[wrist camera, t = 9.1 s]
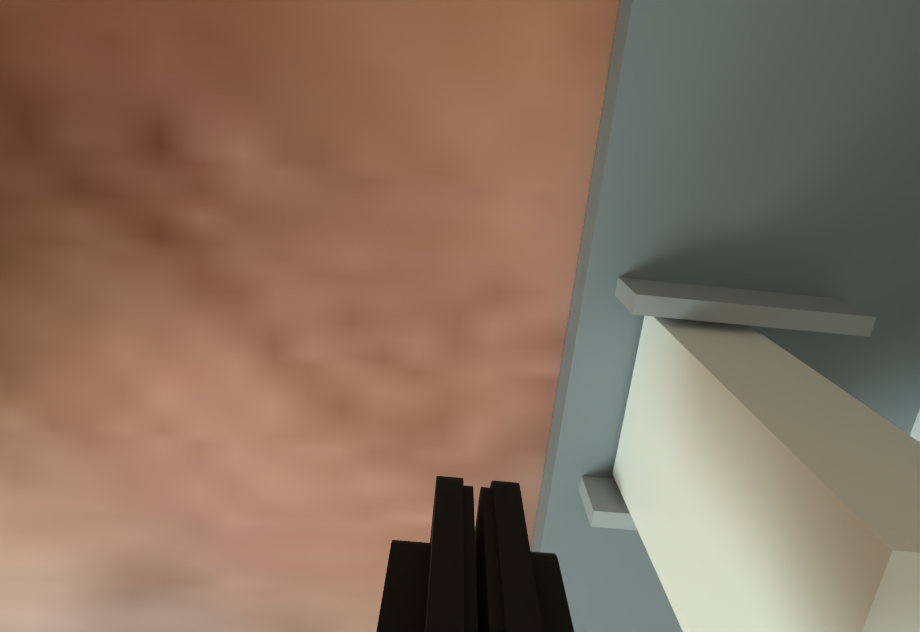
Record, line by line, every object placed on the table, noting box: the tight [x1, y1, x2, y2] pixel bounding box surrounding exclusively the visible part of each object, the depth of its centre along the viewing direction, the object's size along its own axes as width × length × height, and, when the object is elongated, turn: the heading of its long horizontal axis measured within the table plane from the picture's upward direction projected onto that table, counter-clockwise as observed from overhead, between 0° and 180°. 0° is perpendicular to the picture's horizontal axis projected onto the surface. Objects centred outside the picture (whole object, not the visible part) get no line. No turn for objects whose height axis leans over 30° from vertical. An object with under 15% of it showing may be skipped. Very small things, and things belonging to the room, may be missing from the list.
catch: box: [613, 316, 920, 632], centre depth 15 cm, size 6×6×11 cm
